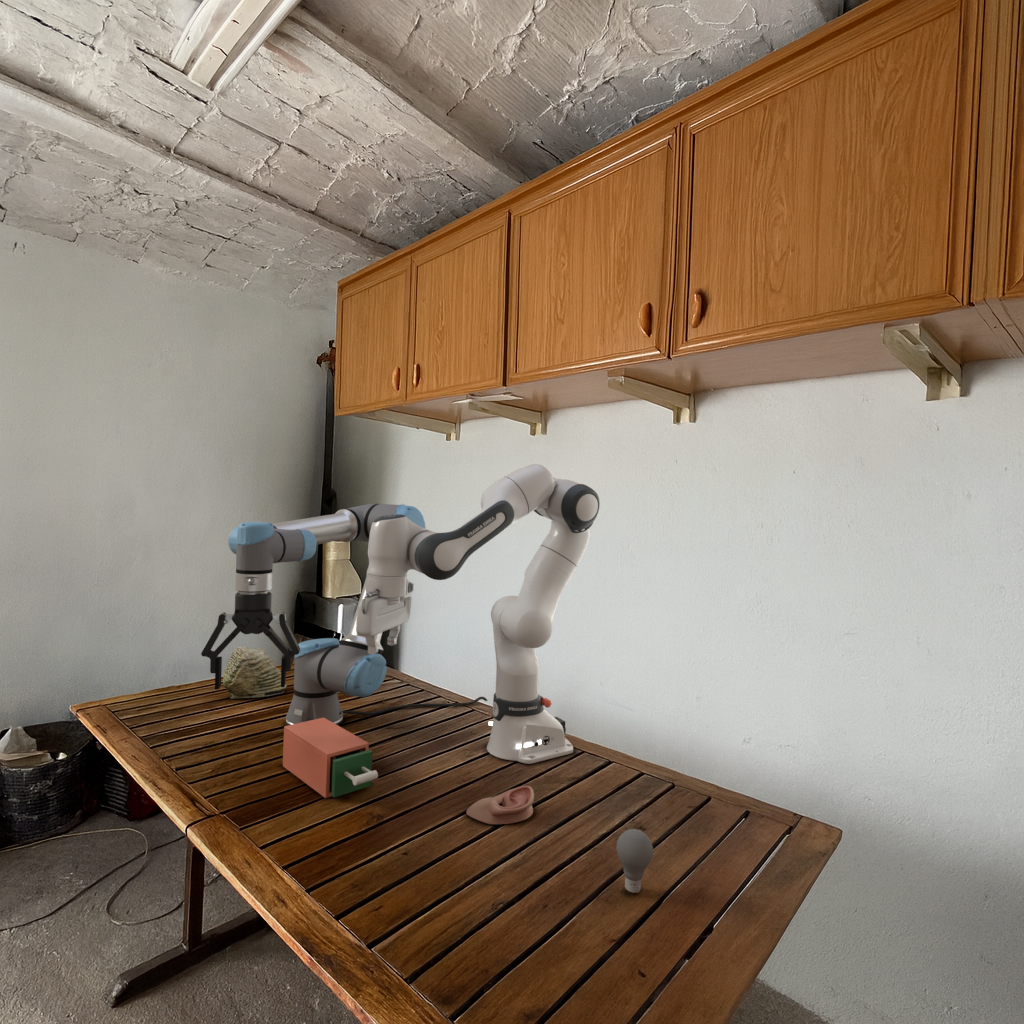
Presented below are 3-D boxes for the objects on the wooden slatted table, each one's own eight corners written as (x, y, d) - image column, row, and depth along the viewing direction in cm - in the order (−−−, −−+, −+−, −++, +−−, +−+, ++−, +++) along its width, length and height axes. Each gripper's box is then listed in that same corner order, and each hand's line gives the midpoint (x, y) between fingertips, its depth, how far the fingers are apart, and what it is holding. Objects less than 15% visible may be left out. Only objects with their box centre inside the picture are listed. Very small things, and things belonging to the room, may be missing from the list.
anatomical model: (462, 800, 126) (477, 776, 137) (461, 820, 126) (476, 794, 137) (528, 810, 123) (537, 784, 135) (527, 830, 123) (536, 803, 135)
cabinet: (367, 784, 140) (369, 743, 140) (325, 798, 133) (327, 754, 133) (322, 755, 155) (323, 717, 155) (282, 766, 148) (284, 726, 148)
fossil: (218, 695, 195) (220, 647, 195) (278, 685, 208) (279, 640, 207) (228, 703, 189) (230, 653, 188) (289, 692, 201) (290, 645, 201)
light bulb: (610, 879, 108) (613, 822, 108) (644, 879, 109) (647, 822, 109) (619, 902, 102) (622, 840, 102) (655, 901, 103) (658, 840, 103)
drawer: (384, 794, 134) (386, 759, 134) (347, 807, 128) (348, 770, 128) (327, 756, 152) (328, 725, 152) (292, 766, 146) (293, 734, 145)
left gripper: (187, 594, 134) (185, 693, 134) (311, 594, 140) (308, 689, 140) (196, 588, 141) (194, 683, 142) (313, 589, 147) (310, 679, 148)
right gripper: (378, 594, 130) (374, 661, 130) (417, 583, 150) (413, 641, 150) (350, 591, 131) (346, 657, 131) (392, 581, 151) (389, 638, 151)
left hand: (250, 686), depth 141 cm, fingers open, 13 cm apart
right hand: (382, 649), depth 141 cm, fingers open, 8 cm apart
